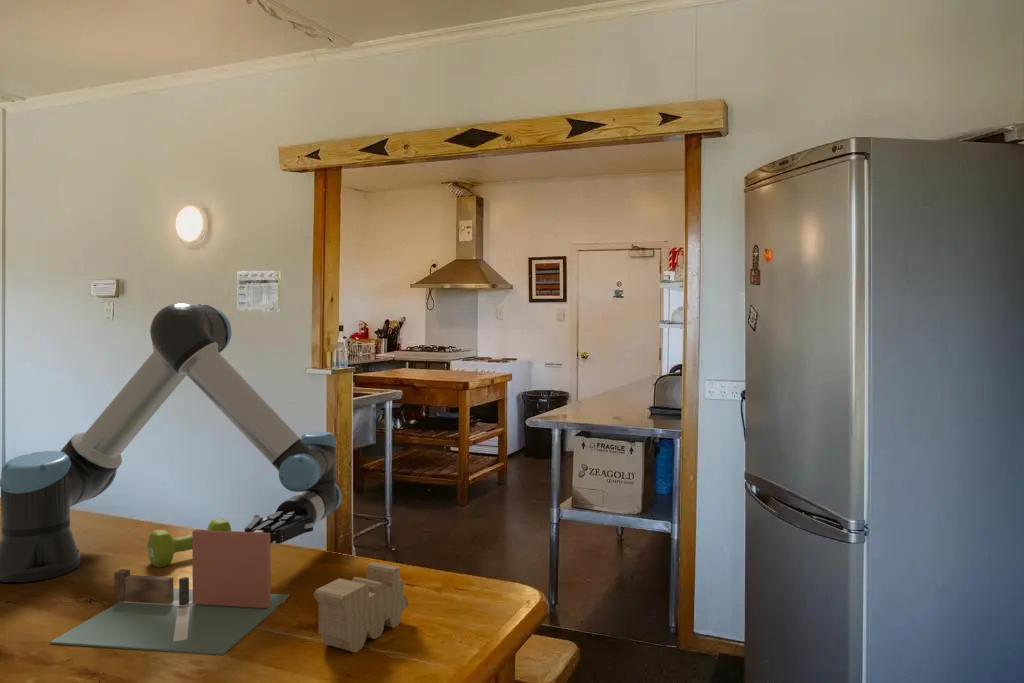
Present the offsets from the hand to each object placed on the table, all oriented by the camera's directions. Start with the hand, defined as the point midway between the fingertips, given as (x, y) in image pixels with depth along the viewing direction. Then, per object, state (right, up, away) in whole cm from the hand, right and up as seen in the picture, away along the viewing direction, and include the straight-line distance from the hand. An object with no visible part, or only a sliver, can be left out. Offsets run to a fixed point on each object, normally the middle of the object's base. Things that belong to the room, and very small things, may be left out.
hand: (242, 548), depth 126 cm
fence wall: (-17, -10, +1) cm, 20 cm away
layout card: (-9, -11, -5) cm, 15 cm away
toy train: (+24, -11, -11) cm, 29 cm away
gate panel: (-2, -10, 0) cm, 10 cm away
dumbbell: (-21, -10, +26) cm, 35 cm away
